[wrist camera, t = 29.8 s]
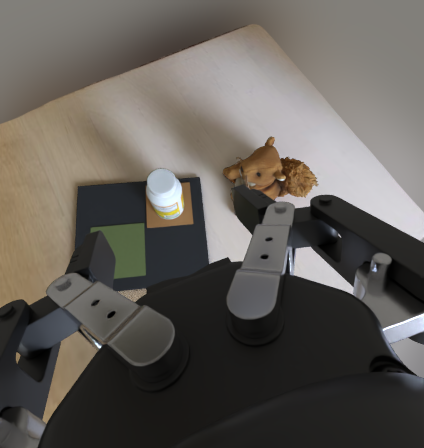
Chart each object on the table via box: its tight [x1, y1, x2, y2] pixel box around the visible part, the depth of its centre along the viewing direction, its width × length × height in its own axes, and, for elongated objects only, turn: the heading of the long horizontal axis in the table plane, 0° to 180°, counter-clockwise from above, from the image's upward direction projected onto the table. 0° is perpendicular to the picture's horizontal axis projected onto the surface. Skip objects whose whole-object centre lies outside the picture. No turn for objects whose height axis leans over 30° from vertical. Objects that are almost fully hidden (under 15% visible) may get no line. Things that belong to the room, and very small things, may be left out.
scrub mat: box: [75, 177, 209, 291], centre depth 41 cm, size 22×19×1 cm
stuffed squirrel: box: [223, 137, 319, 216], centre depth 38 cm, size 10×14×13 cm
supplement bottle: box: [146, 168, 184, 219], centre depth 37 cm, size 5×5×10 cm
